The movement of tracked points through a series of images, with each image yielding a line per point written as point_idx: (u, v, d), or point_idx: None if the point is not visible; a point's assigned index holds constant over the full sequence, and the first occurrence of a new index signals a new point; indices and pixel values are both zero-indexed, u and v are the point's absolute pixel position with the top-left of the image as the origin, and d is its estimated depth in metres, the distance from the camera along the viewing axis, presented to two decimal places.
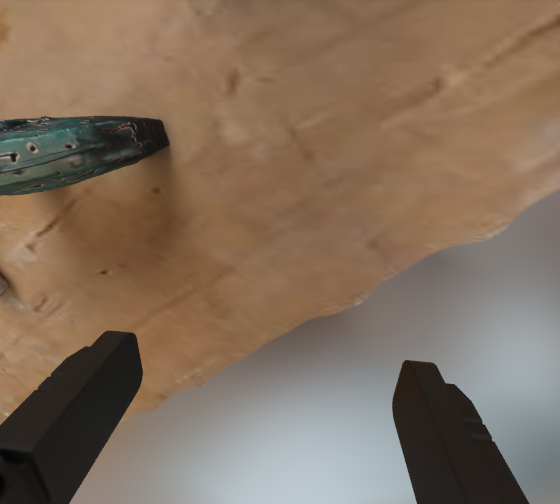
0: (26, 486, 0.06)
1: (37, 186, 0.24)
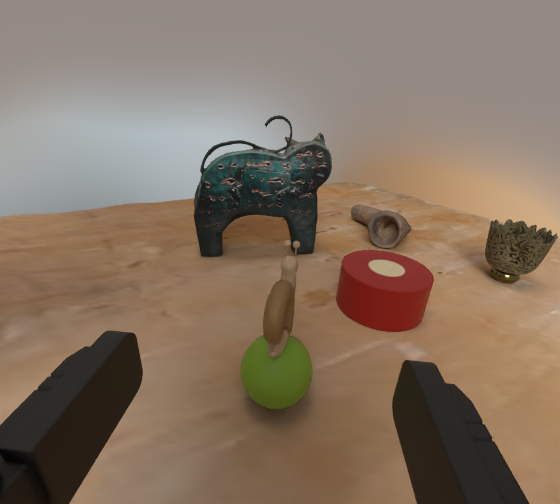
0: (26, 486, 0.06)
1: None
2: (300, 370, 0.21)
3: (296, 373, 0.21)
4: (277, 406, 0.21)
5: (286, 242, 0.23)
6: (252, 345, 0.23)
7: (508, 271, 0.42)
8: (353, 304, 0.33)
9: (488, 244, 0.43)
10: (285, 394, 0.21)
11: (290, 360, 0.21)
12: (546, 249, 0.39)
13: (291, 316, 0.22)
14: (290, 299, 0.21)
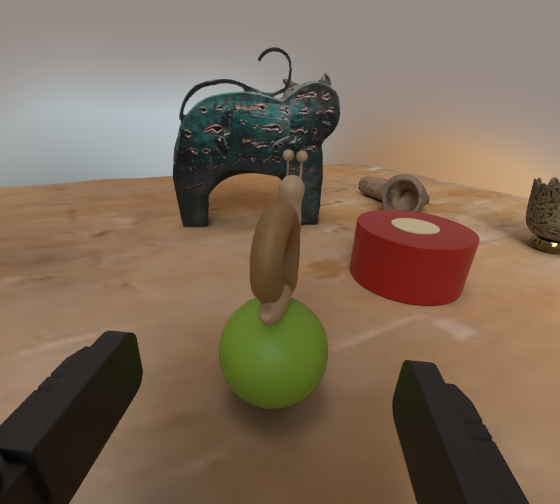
0: (26, 486, 0.06)
1: None
2: (310, 347, 0.14)
3: (304, 351, 0.13)
4: (274, 404, 0.14)
5: (286, 152, 0.15)
6: (236, 312, 0.15)
7: (558, 237, 0.34)
8: (375, 271, 0.26)
9: (531, 206, 0.36)
10: (287, 385, 0.13)
11: (294, 330, 0.13)
12: None
13: (295, 264, 0.14)
14: (294, 235, 0.14)
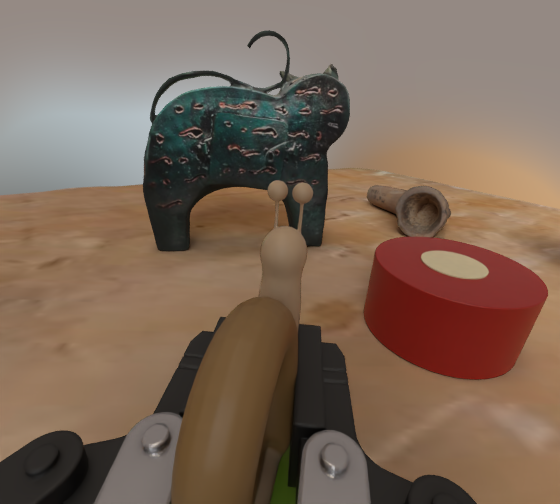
0: None
1: None
2: None
3: None
4: None
5: (274, 186, 0.08)
6: None
7: None
8: (401, 330, 0.19)
9: None
10: None
11: None
12: None
13: (289, 404, 0.07)
14: (285, 357, 0.07)
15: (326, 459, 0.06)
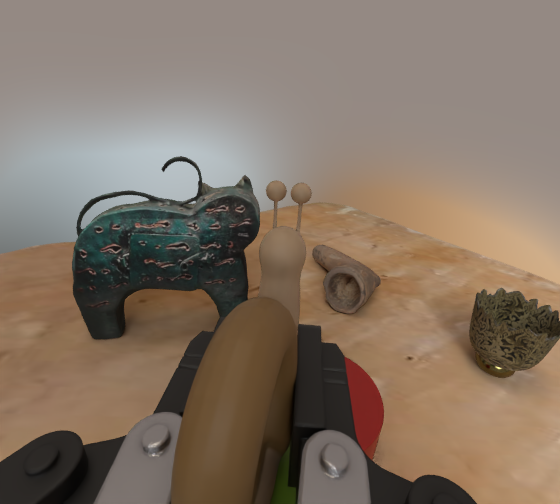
0: None
1: None
2: None
3: None
4: None
5: (272, 186, 0.08)
6: None
7: (499, 366, 0.31)
8: None
9: (472, 325, 0.32)
10: None
11: None
12: (552, 344, 0.28)
13: (288, 404, 0.07)
14: (285, 357, 0.07)
15: (326, 459, 0.06)
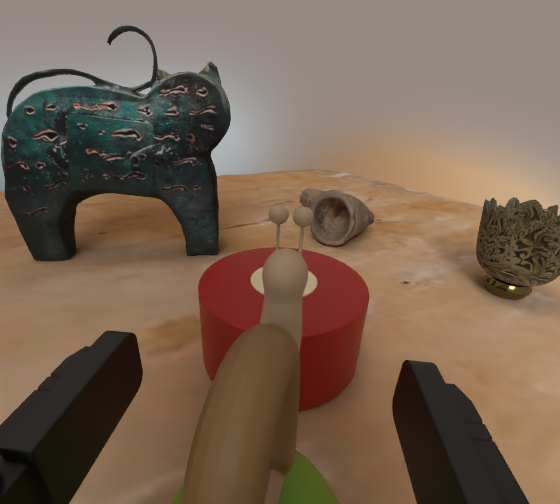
0: (26, 486, 0.06)
1: None
2: None
3: None
4: None
5: (275, 210, 0.08)
6: None
7: (513, 281, 0.25)
8: (210, 355, 0.17)
9: (480, 237, 0.27)
10: None
11: None
12: None
13: (292, 425, 0.07)
14: (288, 382, 0.07)
15: None
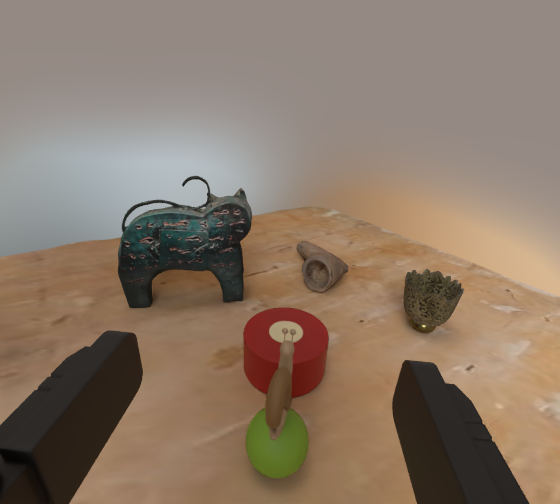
0: (26, 486, 0.06)
1: None
2: (297, 445, 0.25)
3: (294, 449, 0.24)
4: (278, 477, 0.25)
5: (284, 330, 0.26)
6: (255, 420, 0.26)
7: (421, 323, 0.43)
8: (250, 370, 0.35)
9: (404, 295, 0.45)
10: (285, 468, 0.24)
11: (288, 437, 0.25)
12: (452, 304, 0.41)
13: (289, 396, 0.25)
14: (288, 383, 0.25)
15: None
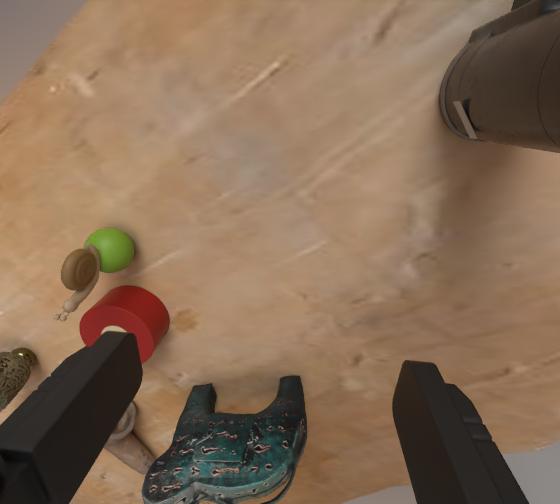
0: (26, 486, 0.06)
1: None
2: (85, 243, 0.36)
3: (87, 241, 0.35)
4: (107, 228, 0.37)
5: (62, 317, 0.30)
6: (116, 260, 0.36)
7: (17, 354, 0.47)
8: (151, 305, 0.41)
9: (20, 383, 0.46)
10: (97, 231, 0.36)
11: None
12: None
13: None
14: None
15: None
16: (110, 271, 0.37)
